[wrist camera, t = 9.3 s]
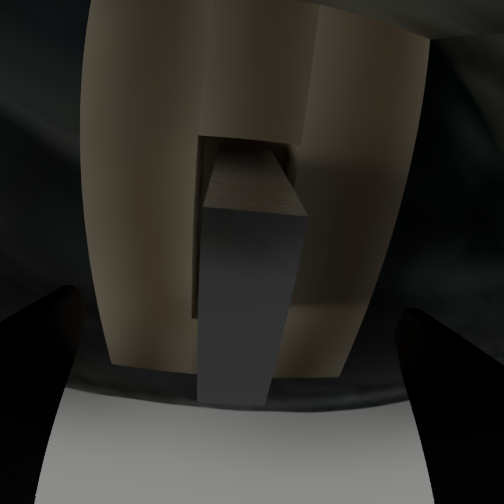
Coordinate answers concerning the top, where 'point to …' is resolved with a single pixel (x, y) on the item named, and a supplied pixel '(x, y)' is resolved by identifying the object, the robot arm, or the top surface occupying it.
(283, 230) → the bracket plate
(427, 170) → the top surface
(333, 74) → the post base
